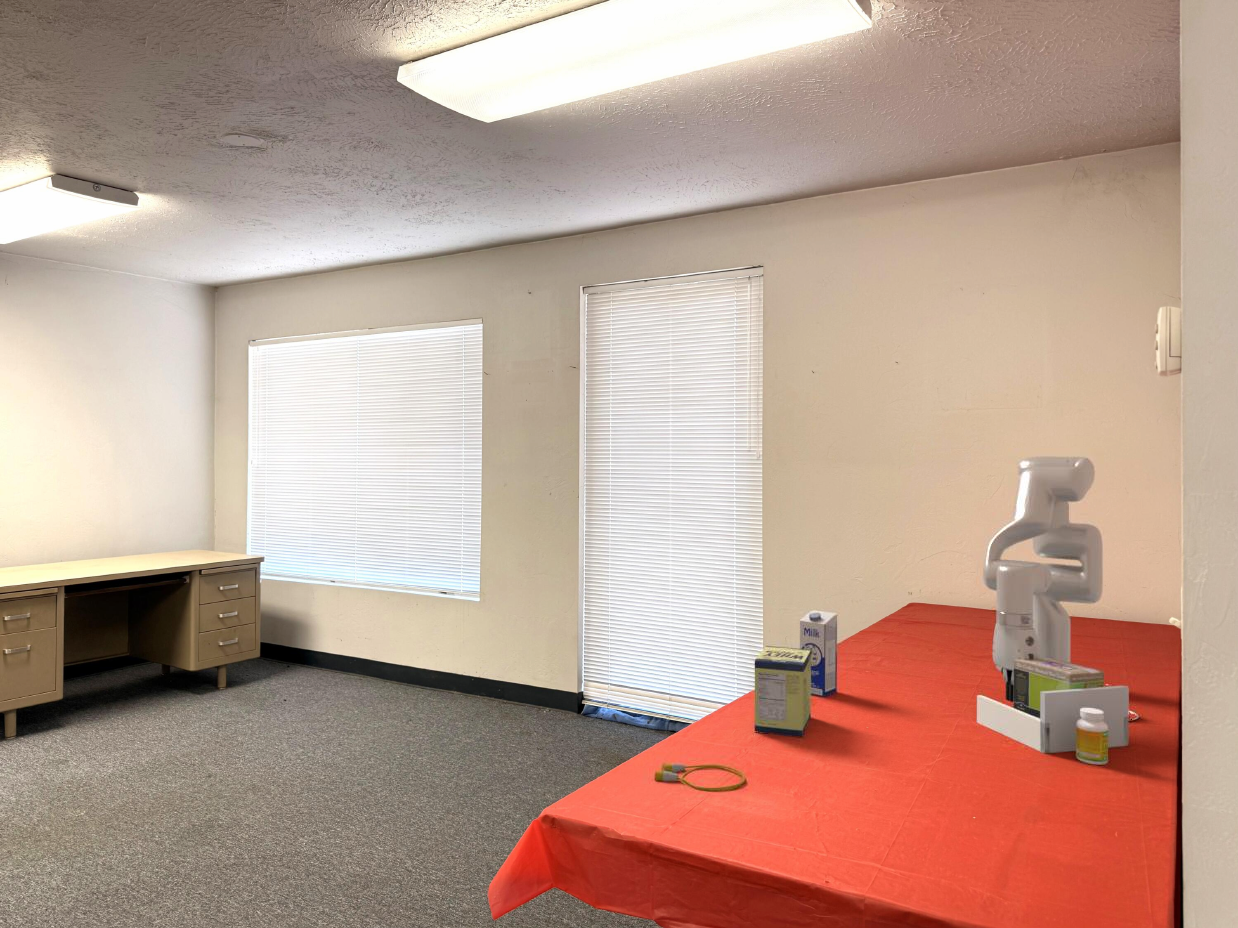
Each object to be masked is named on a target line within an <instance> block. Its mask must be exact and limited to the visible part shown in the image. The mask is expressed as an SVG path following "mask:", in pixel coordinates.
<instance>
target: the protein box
mask: <svg viewBox="0 0 1238 928" xmlns="http://www.w3.org/2000/svg"><path fill="white" fill-rule="evenodd" d="M811 698H812V694H811V650H810V649H800V648H794V647H784V646H772V645H765V647H764V648H763V649H762V651H761V652H760V653H759V655H758V656H757V657H756V658H755V660H754V731H758V732H757V733H759V732H763V733H762V734H768V733H773V734H772V735H779V736H786V737H795V738H796V737H797V738H803V737H804V735H805V732H806V730H807V727H808V724H809V723H810V720H811V713H812V711H811V710H812V707H811V706H812V699H811Z"/></svg>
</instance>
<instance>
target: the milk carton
mask: <svg viewBox="0 0 1238 928" xmlns="http://www.w3.org/2000/svg"><path fill="white" fill-rule="evenodd" d="M798 621H799V649H810V650H811V696H816V695H817V697H821V698H825V697H827V695H828V696H830V695H832V693H833V694H835V693H837V691H838V686H837V685H838V656H837V655H838V613H836V612H832V611H831V612H830V611H821V610H815V609H813V610H811V611H809V612H807V613H806V615H804V616H803V617H802V618H800V619H799V620H798Z"/></svg>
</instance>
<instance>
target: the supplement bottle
mask: <svg viewBox="0 0 1238 928" xmlns="http://www.w3.org/2000/svg"><path fill="white" fill-rule="evenodd" d="M1080 716H1081V717H1082V719H1079V720H1078V721H1077V722H1076V751H1075V757H1076V759H1077V760H1079V761H1080V762H1082V763H1084V764H1090V765H1097V766H1099V765H1100V766H1101V765H1102V766H1103V765H1106V764H1107V763H1108V762H1109V747H1108V726H1107V724H1106V723H1104V722H1103V721H1102V720H1104V712H1103V711H1101V710H1098V709H1094V708H1081V709H1080Z"/></svg>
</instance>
